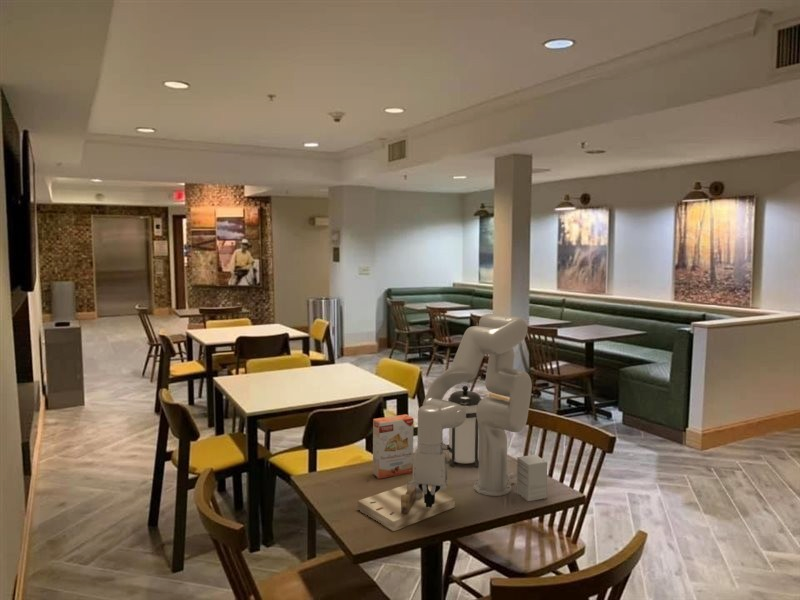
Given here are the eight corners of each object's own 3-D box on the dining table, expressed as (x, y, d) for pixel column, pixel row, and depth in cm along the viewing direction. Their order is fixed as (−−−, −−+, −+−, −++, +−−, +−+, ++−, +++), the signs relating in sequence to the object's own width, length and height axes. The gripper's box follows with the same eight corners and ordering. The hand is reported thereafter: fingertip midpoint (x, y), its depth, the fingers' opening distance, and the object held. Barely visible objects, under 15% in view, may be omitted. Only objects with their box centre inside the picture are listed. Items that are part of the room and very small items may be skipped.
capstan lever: (409, 491, 192) (409, 476, 192) (424, 493, 191) (424, 478, 190) (394, 515, 175) (394, 499, 175) (410, 517, 174) (410, 501, 174)
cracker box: (379, 480, 210) (379, 422, 208) (372, 474, 215) (372, 418, 213) (414, 473, 216) (414, 417, 214) (406, 467, 222) (406, 413, 219)
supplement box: (535, 489, 202) (535, 454, 200) (547, 498, 195) (548, 461, 193) (516, 492, 199) (516, 456, 198) (527, 501, 192) (528, 464, 191)
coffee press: (463, 451, 238) (464, 378, 235) (492, 463, 225) (493, 386, 222) (430, 461, 228) (430, 385, 225) (458, 474, 215) (458, 393, 212)
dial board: (417, 489, 202) (417, 480, 202) (454, 507, 188) (454, 497, 188) (357, 509, 186) (357, 500, 186) (393, 531, 172) (393, 520, 172)
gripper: (456, 445, 180) (455, 502, 181) (408, 440, 183) (408, 497, 185) (452, 453, 172) (451, 513, 174) (402, 449, 176) (402, 508, 178)
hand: (429, 505), depth 179 cm, fingers closed
